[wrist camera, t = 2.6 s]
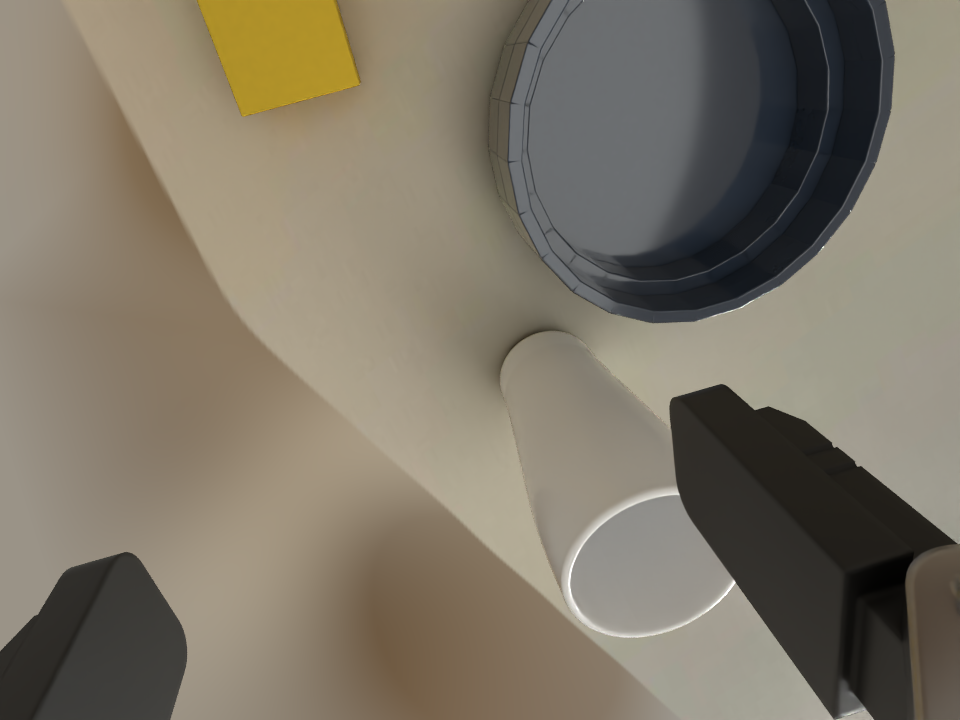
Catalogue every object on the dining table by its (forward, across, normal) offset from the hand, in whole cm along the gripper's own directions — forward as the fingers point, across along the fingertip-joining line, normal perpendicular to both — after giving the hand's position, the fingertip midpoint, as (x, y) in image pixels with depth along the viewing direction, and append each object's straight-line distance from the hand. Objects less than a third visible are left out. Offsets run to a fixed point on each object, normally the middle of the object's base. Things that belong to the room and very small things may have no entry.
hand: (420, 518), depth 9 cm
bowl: (+22, -14, -1) cm, 26 cm away
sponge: (+22, +2, -8) cm, 24 cm away
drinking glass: (+22, -6, +11) cm, 26 cm away
